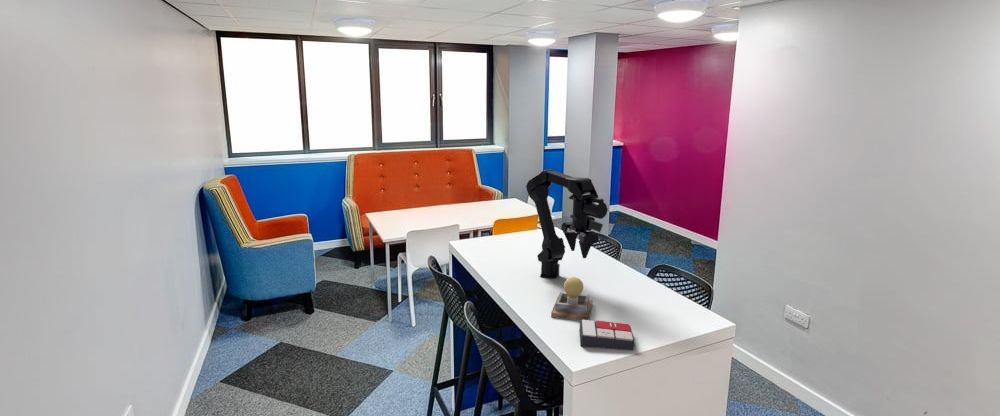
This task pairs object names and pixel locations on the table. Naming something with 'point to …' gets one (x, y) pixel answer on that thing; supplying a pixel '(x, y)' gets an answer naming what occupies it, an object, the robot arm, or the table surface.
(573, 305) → the square frame
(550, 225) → the robot arm
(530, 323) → the table surface
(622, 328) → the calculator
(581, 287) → the light bulb
